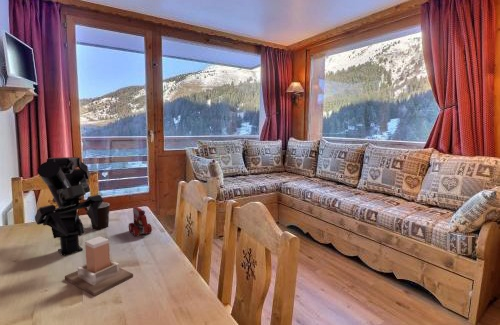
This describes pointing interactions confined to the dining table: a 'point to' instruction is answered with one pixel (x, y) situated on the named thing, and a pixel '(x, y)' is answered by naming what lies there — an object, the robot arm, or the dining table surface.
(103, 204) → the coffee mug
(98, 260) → the tan box white top
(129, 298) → the dining table surface
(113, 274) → the square socket base
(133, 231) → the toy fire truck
